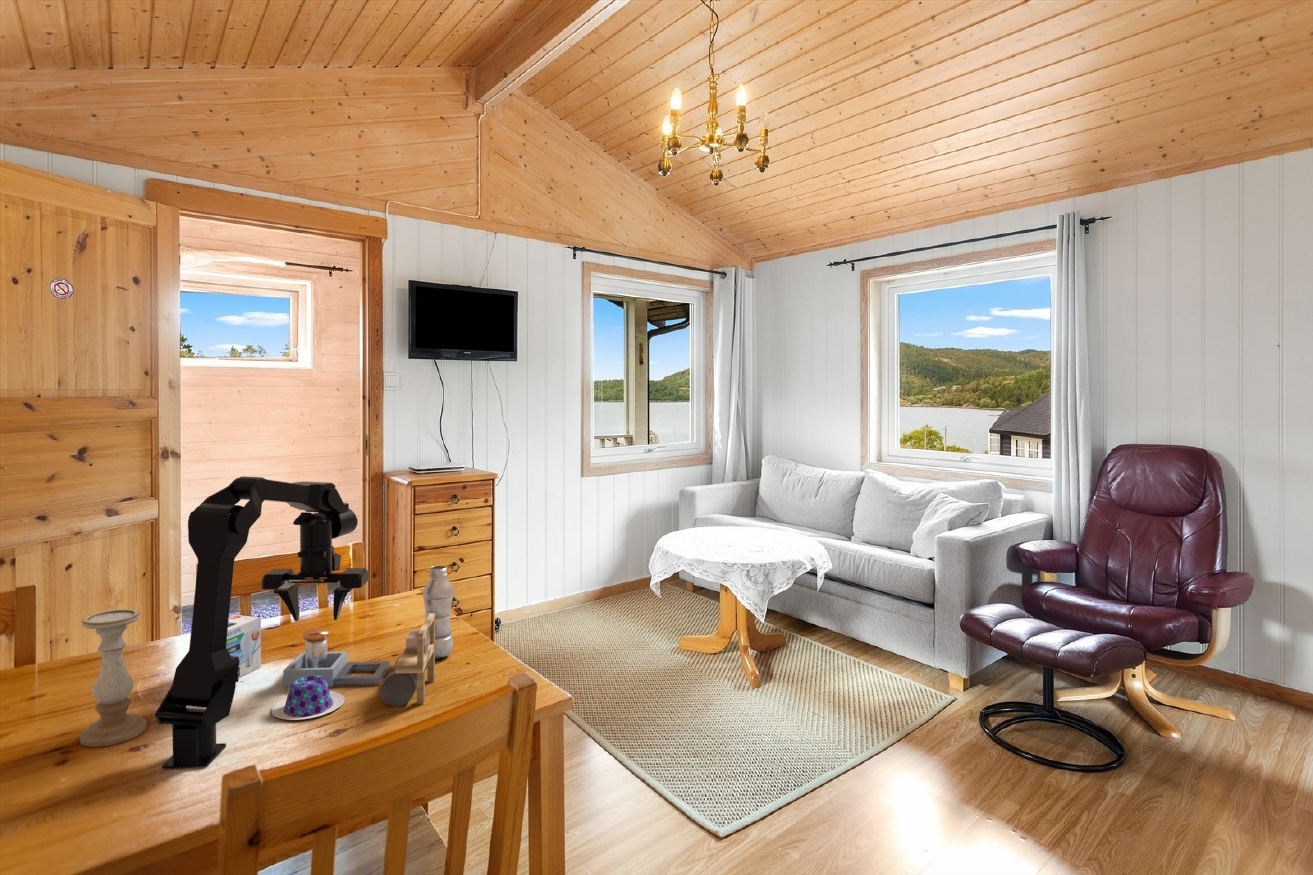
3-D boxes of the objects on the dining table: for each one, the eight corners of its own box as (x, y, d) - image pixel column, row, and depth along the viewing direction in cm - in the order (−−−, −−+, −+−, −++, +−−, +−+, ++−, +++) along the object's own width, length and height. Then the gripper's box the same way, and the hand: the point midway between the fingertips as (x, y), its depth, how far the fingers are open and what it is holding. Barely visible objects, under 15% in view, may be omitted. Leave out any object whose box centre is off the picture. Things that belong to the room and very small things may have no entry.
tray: (333, 687, 135) (332, 669, 134) (283, 688, 133) (283, 670, 133) (347, 668, 144) (347, 651, 143) (301, 669, 142) (301, 652, 142)
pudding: (301, 691, 133) (301, 665, 133) (357, 697, 131) (357, 670, 131) (255, 720, 121) (255, 691, 121) (316, 727, 119) (316, 698, 119)
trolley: (422, 705, 128) (423, 633, 127) (380, 707, 127) (380, 634, 126) (435, 678, 140) (435, 612, 139) (396, 679, 139) (396, 613, 138)
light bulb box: (221, 687, 133) (220, 633, 132) (192, 684, 134) (191, 630, 134) (262, 666, 144) (262, 616, 143) (235, 663, 145) (234, 613, 144)
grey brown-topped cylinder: (325, 679, 136) (325, 635, 136) (299, 680, 136) (299, 636, 135) (332, 669, 141) (332, 627, 141) (307, 671, 140) (307, 628, 140)
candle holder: (138, 717, 120) (136, 604, 119) (153, 733, 115) (151, 615, 114) (74, 735, 114) (71, 616, 112) (87, 753, 108) (83, 628, 107)
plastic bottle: (415, 658, 150) (415, 568, 149) (438, 648, 156) (438, 562, 155) (436, 664, 147) (437, 573, 146) (459, 654, 153) (460, 566, 152)
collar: (379, 684, 136) (379, 677, 136) (334, 686, 135) (334, 678, 135) (390, 667, 144) (390, 660, 144) (347, 669, 143) (347, 662, 143)
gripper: (375, 535, 146) (375, 607, 147) (282, 535, 143) (283, 608, 144) (360, 547, 135) (360, 624, 136) (259, 547, 132) (260, 626, 133)
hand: (316, 620), depth 138 cm, fingers open, 7 cm apart
